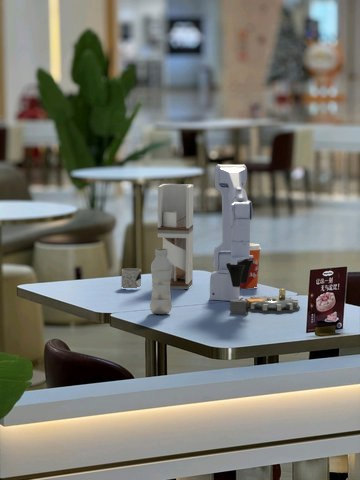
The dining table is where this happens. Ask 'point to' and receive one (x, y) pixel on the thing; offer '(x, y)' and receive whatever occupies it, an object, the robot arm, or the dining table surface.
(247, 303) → the link block
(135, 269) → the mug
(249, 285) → the coffee cup
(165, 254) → the plastic bottle
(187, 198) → the display case
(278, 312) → the sprocket mat
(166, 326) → the dining table surface
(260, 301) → the sprocket
